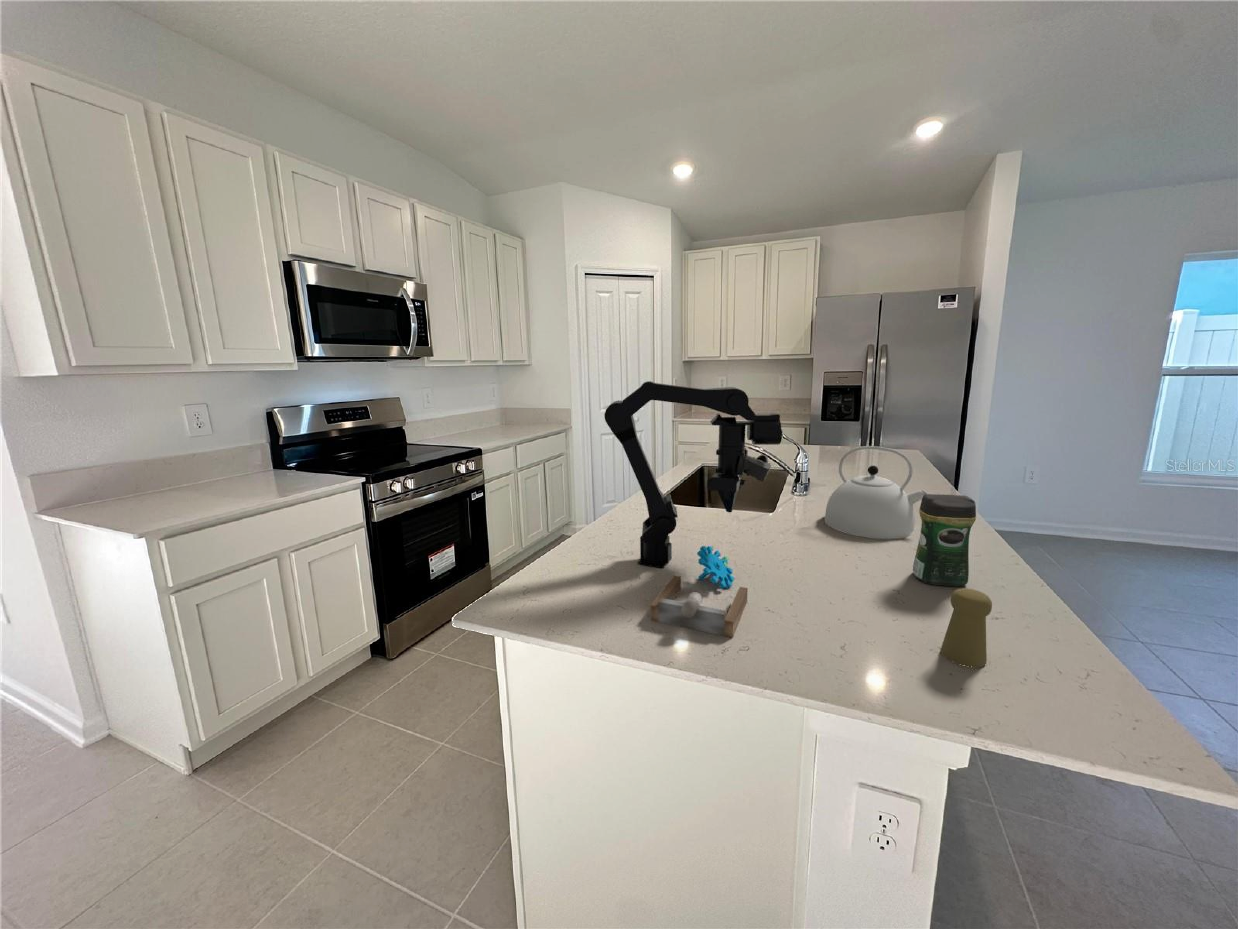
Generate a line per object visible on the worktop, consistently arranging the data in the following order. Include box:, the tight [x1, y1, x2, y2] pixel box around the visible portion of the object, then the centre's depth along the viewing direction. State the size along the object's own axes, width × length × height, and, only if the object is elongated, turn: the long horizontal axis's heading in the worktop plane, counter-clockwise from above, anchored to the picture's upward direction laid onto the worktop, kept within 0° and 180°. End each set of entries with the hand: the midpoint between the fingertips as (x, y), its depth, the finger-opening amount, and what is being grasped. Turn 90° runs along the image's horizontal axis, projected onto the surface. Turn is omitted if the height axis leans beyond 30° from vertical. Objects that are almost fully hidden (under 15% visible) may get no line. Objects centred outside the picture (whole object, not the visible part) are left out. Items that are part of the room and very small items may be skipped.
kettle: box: [824, 445, 928, 540], centre depth 134 cm, size 25×23×22 cm
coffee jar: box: [912, 493, 977, 587], centre depth 101 cm, size 10×8×19 cm
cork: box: [940, 587, 993, 668], centre depth 76 cm, size 6×6×11 cm
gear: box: [696, 545, 735, 589], centre depth 104 cm, size 11×6×10 cm
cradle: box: [650, 574, 749, 638], centre depth 91 cm, size 15×15×6 cm
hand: (729, 511), depth 111 cm, fingers closed
